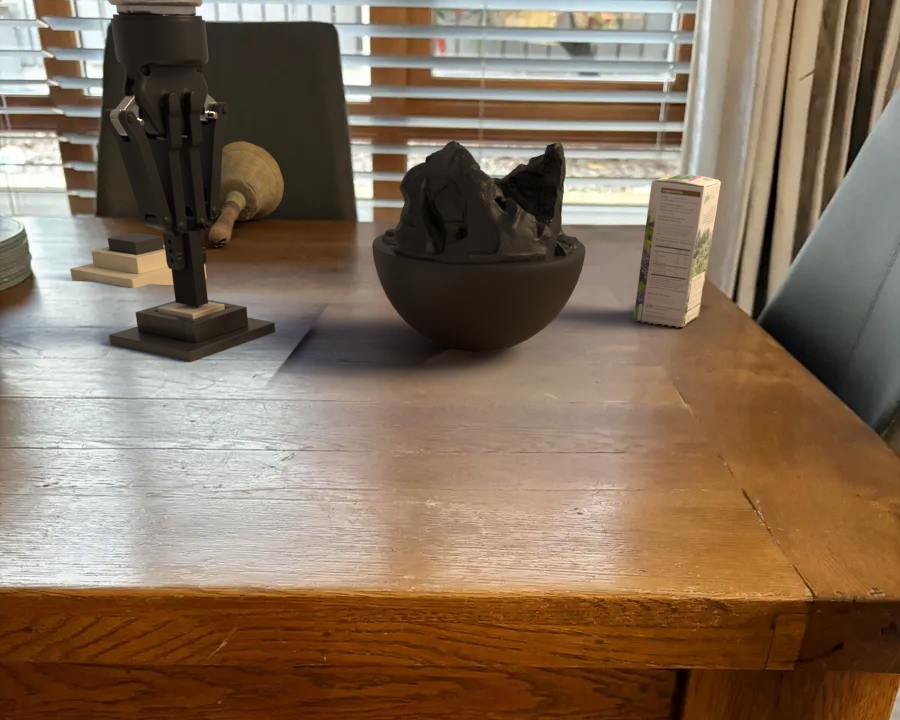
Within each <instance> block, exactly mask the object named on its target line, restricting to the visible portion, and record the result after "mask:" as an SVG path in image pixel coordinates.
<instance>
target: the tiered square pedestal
mask: <svg viewBox="0 0 900 720" xmlns="http://www.w3.org/2000/svg"><path fill="white" fill-rule="evenodd" d="M208 301H209V302H214V303H219V304H224V306H225V309H224V310H220V311H217V312H214V313H211V314H208V315H204V316H201V317H198V318H195V319H190V318H185V317H180V316H175V315H170V314H165V313H160V312H158V307H161V306H164V305H168V304H171V303H175V302H176V301H175V300H173V301H169V302H166V303H163V304H159V305H155V306H152V307H149V308H144V309H141V310H138V311H135V320H136V326H134V327H131V328H130V327H129V328H127V329H123V330H120V331H117V332H114V333H111V334H108V339H109V345H110V346H114V347H119V348H123V349H126V350H127V349H128V350H133V351H136V352H141V353H146V354H151V355H155V356H160V357H164V358H168V359H173V360H178V361H182V362H187V363H193V362H196V361H199V360H201V359H204V358H207V357H210V356H213V355H215V354H219V353H220V352H223V351H226V350H229V349H232V348H235V347H237V346H241V345H243V344H245V343H248V342H251V341H254V340H257V339H260V338H262V337H265V336H268V335H271V334H274V333H275V332H276V325H275V322H274V321H269V320H263V319H257V318H253V317H248V309H247V308H248V307H247V306H244V305H239V304H238V305H237V304H233V303H227V302H221V301H216V300H209V299H208Z"/></svg>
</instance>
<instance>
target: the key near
mask: <svg viewBox="0 0 900 720" xmlns="http://www.w3.org/2000/svg"><path fill="white" fill-rule="evenodd" d="M224 309H225V306H224V304H219V303H214V302H209V301H208V304H204V305H201V306H198V307H197V306H191V305H186V304H180V303H176V302H175V303H171V304H168V305H164V306H161V307H158V312H160V313H165V314H170V315H175V316H180V317H185V318H190V319H195V318H198V317H201V316H204V315H208V314H211V313H214V312H217V311H220V310H224Z"/></svg>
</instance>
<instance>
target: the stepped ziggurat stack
mask: <svg viewBox="0 0 900 720" xmlns="http://www.w3.org/2000/svg"><path fill="white" fill-rule="evenodd" d="M163 248H164V249H161V250H157V251H153V252H148V253H144V254H139V255H132V254H126V253H120V252H114V251H110V250H109V246H107V247H102V248H101V247H100V248H96V249H92V250H90V251H91V257H92V261H93V262H92V263H88V264H84V265H79V266H75V267H71V268H69V270H70V277H71V281H72V282H82V283H83V282H85V283H104V284H108V285H109V284H110V285H113V286H114V285H115V286H120V287H125V288H130V289H135V288H139V287H143V286H146V285H158V286H159V285H160V286H161V285H163V286H174V285H173V277H172V269H169V267H168V265H167V262H166V254H165V246H164V244H163ZM204 269H205V278H207V279H208V277H207V268H206V264H204Z"/></svg>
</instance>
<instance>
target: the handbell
mask: <svg viewBox="0 0 900 720" xmlns="http://www.w3.org/2000/svg"><path fill="white" fill-rule="evenodd" d="M284 184H285V182H284V177H283V175H282V172H281V168H280V166H279V164H278V163H277V161H276V159H275V158H274V157H273V156H272V155H271V154H270V153H269V152H268V151H266V149H264V148H263V147H261V146H258V145H256V144H253V143H252V142H248V141H243V140H241V141H240V140H239V141H234V142H230V143H227V145H223V150H222V169H221V188H220V207H219V213H220V214H219V215H220V216H218V217H217V220H216V221H215V223H213V226H212V228H211V229H210V230H209V232H208V240H209V243H210V245H212V246H213V247H214V246H220V245H226V246H227V245H228V243H229V242H230V240H231V239H232V232H233V227H234V223H235V222H236V221H237V222H245V221H256V220H261V219H265V218H267V217H268V216H270V215H271V214H272V213H273V212H274V211H275V210H276V209H277V208H278V207H279V205H280V203H281V202H282V199H283V196H284V190H285V185H284Z"/></svg>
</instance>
